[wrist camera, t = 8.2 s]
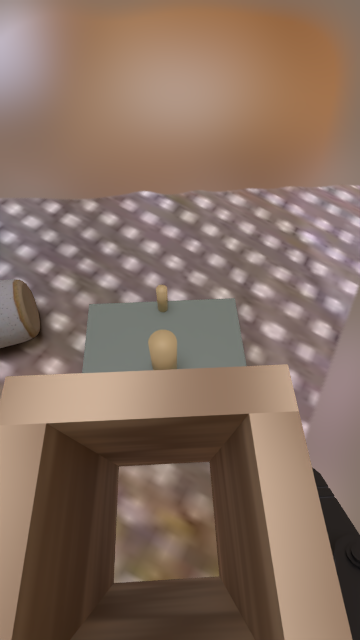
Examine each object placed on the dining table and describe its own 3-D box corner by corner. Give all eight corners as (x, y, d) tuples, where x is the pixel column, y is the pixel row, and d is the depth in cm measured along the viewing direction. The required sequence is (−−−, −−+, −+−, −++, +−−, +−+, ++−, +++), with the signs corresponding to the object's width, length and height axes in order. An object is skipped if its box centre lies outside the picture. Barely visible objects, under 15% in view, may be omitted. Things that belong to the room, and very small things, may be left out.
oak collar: (83, 620, 14) (-116, 878, 4) (97, 443, 18) (5, 376, 8) (250, 609, 14) (396, 829, 5) (229, 436, 18) (287, 364, 8)
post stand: (77, 466, 31) (45, 456, 23) (92, 310, 40) (73, 267, 32) (258, 455, 31) (282, 442, 24) (232, 304, 40) (245, 261, 33)
